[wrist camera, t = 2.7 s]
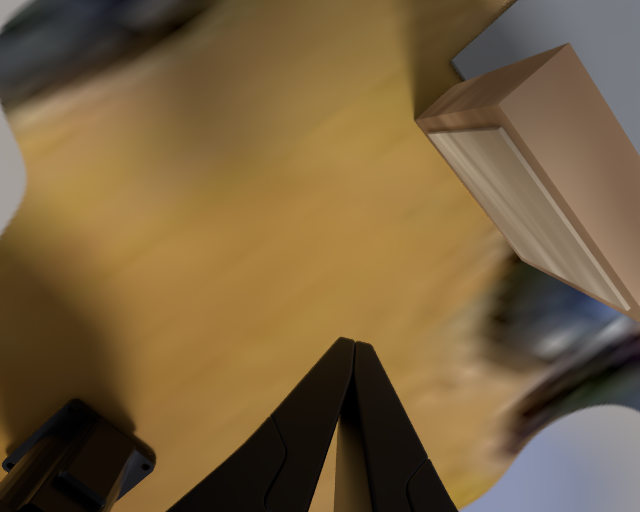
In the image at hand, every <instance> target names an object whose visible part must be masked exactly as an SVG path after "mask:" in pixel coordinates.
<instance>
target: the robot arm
mask: <svg viewBox="0 0 640 512" xmlns="http://www.w3.org/2000/svg"><path fill="white" fill-rule="evenodd" d="M72 407H74V408H76V409H77V410H74V409H73V408H72ZM337 422H338V432H337V453H336V474H335V496H334V512H458V510H457V508H456V507H455V505H454V503H453V502H452V500H451V498H450V497H449V495H448V493H447V491H446V489H445V487H444V485H443V483H442V482H441V480H440V478H439V476H438V474H437V472H436V470H435V468H434V466H433V464H432V462H431V460H430V459H428V455H427V453H426V451H425V449H424V447H423V445H422V443H421V441H420V439H419V437H418V435H417V433H416V432H415V430H414V428H413V426H412V424H411V422H410V420H409V418H408V416H407V414H406V412H405V410H404V408H403V406H402V404H401V402H400V400H399V398H398V396H397V394H396V392H395V390H394V388H393V386H392V384H391V382H390V380H389V378H388V376H387V374H386V372H385V370H384V368H383V366H382V364H381V362H380V360H379V358H378V356H377V354H376V352H375V350H374V348H373V346H372V345H371V344H369V343H365V342H361V341H356V342H355V341H354V340H353V339H349V338H345V337H339V338H338V339H337V340H336V341H335V342H334V344H333V345H332V346H331V347H330V348H329V349H328V350H327V352H326V353H325V354H324V355H323V356H322V357H321V358H320V359H319V361H318V362H317V363H316V364H315V365H314V366H313V367H312V368H311V370H310V371H309V372H308V373H307V374H306V375H305V376H304V378H303V379H302V380H301V381H300V382H299V383H298V384H297V385H296V387H295V388H294V389H293V390H292V391H291V392H290V393H289V395H288V396H287V397H286V398H285V399H284V400H283V401H282V402H281V404H280V405H279V406H278V407H277V408H276V409H275V410H274V411H273V413H272V414H271V415H270V417H268V418H267V419H266V420H265V421H264V422H263V423H262V424H261V426H260V427H259V428H258V429H257V430H256V431H255V432H254V433H253V434H252V435H251V436H250V437H249V438H248V439H247V440H246V441H245V443H244V444H242V445H241V446H240V447H239V448H238V449H237V450H236V451H235V452H234V453H233V454H232V455H230V456H229V457H228V458H227V459H226V460H225V461H224V462H223V463H222V464H220V465H219V466H218V467H217V468H216V469H215V470H213V471H212V472H211V473H210V474H209V475H208V476H206V477H205V478H204V479H203V480H202V481H201V482H199V483H198V484H197V485H196V486H195V487H194V488H192V489H191V490H190V491H189V492H188V493H187V494H185V495H184V496H183V497H182V498H181V499H180V500H179V501H177V502H176V503H175V504H174V505H173V506H172V507H170V508H169V509H168V510H167V511H166V512H308V511H309V507H310V504H311V501H312V498H313V495H314V492H315V489H316V486H317V483H318V480H319V477H320V474H321V471H322V468H323V465H324V461H325V458H326V455H327V452H328V449H329V446H330V443H331V440H332V437H333V434H334V431H335V428H336V425H337ZM13 463H14V464H13ZM145 464H148V465H145ZM155 465H156V460H155V458H154V457H152V456H151V455H150V454H149V453H147V452H146V451H145V450H143V449H142V448H141V447H140V446H138V445H137V444H136V443H135V442H133V441H132V440H131V439H129V438H128V437H127V436H126V435H124V434H123V433H122V432H120V431H119V430H118V429H117V428H115V427H114V426H113V425H112V424H110V423H109V422H108V421H106V420H105V419H104V418H103V417H101V416H100V415H99V414H98V413H96V412H95V411H94V410H92V409H91V408H90V407H89V406H87V405H86V404H85V403H83V402H82V401H81V400H79V399H71V400H69V401H68V402H67V403H66V404H65V405H64V406H63V407H62V408H60V409H59V410H58V411H57V412H56V413H55V414H54V415H53V416H52V417H51V418H49V419H48V420H47V421H46V422H45V423H44V424H43V425H42V426H41V427H40V428H38V429H37V430H36V431H35V432H34V433H33V434H32V435H31V436H30V437H29V438H27V439H26V440H25V441H24V442H23V443H22V444H21V445H20V446H19V447H18V448H16V449H15V450H14V451H13V452H12V453H11V454H10V455H9V456H8V457H7V458H6V459H5V460H4V461H3V463H2V467H3V469H4V470H5V471H7V472H8V474H7V475H6V476H5V478H4V479H3V480H2V481H1V482H0V512H110V511H111V509H112V507H113V505H114V503H115V502H116V501H118V500H119V499H120V498H121V497H122V496H124V495H125V494H126V493H127V492H128V491H130V490H131V489H132V488H133V487H134V486H136V485H137V484H138V483H139V482H140V481H142V480H143V479H144V478H145V477H146V476H148V475H149V474H150V473H151V472H152V471H153V470H154V468H155Z"/></svg>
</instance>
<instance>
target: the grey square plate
mask: <svg viewBox="0 0 640 512" xmlns="http://www.w3.org/2000/svg"><path fill="white" fill-rule="evenodd" d="M567 43H570V45H571V46H572V48H573V49H574V51H575V53H576V54H577V56H578V57H579V59H580V61H581V62H582V64H583V65H584V67H585V69H586V70H587V72H588V74H589V75H590V77H591V78H592V80H593V82H594V83H595V85H596V86H597V88H598V90H599V91H600V93H601V94H602V96H603V98H604V99H605V101H606V103H607V104H608V106H609V107H610V109H611V111H612V112H613V114H614V115H615V117H616V119H617V120H618V122H619V123H620V125H621V127H622V128H623V130H624V132H625V133H626V135H627V136H628V138H629V140H630V141H631V143H632V144H633V146H634V148H635V149H636V151H637V152H638V154H639V156H640V0H517V1H516V2H515V3H514V4H513V5H511V6H510V7H509V8H508V9H507V10H506V11H505V12H504V13H503V14H502V15H500V16H499V17H498V18H497V19H496V20H495V21H494V22H493V23H492V24H490V25H489V26H488V27H487V28H486V29H485V30H484V31H483V32H482V33H481V34H479V35H478V36H477V37H476V38H475V39H474V40H473V41H472V42H471V43H470V44H468V45H467V46H466V47H465V48H464V49H463V50H462V51H461V52H460V53H458V54H457V55H456V56H455V57H454V58H453V59H452V60H451V61H450V62H451V64H452V65H453V67H454V68H455V69H456V71H457V72H458V74H459V75H460V76H461V78H462V79H463V81H466V80H469V79H472V78H475V77H477V76H480V75H483V74H485V73H488V72H491V71H493V70H496V69H499V68H502V67H504V66H507V65H510V64H512V63H515V62H518V61H521V60H523V59H526V58H529V57H531V56H534V55H537V54H539V53H542V52H545V51H548V50H550V49H553V48H556V47H558V46H561V45H564V44H567Z"/></svg>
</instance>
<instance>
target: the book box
mask: <svg viewBox="0 0 640 512" xmlns="http://www.w3.org/2000/svg"><path fill="white" fill-rule="evenodd" d="M414 121H415V122H416V124H417V125H418V126H419V128H420V129H421V130H422V131H423V133H424V134H425V135H426V137H427V138H428V139H429V141H430V142H431V143H432V144H433V146H434V147H435V148H436V150H437V151H438V152H439V153H440V155H441V156H442V157H443V159H444V160H445V161H446V163H447V164H448V165H449V166H450V168H451V169H452V170H453V172H454V173H455V174H456V176H457V177H458V178H459V179H460V181H461V182H462V183H463V185H464V186H465V187H466V189H467V190H468V191H469V192H470V194H471V195H472V196H473V198H474V199H475V200H476V202H477V203H478V204H479V205H480V207H481V208H482V209H483V211H484V212H485V213H486V215H487V216H488V217H489V218H490V220H491V221H492V222H493V224H494V225H495V226H496V227H497V229H498V230H499V231H500V233H501V234H502V235H503V237H504V238H505V239H506V240H507V242H508V243H509V244H510V246H511V247H512V248H513V250H514V251H515V252H516V253H517V255H518V256H519V257H520V259H521V260H522V261H524V262H526V263H528V264H530V265H532V266H533V267H535V268H537V269H539V270H541V271H543V272H545V273H547V274H549V275H550V276H552V277H554V278H556V279H558V280H560V281H562V282H564V283H566V284H568V285H569V286H571V287H573V288H575V289H577V290H579V291H581V292H583V293H585V294H587V295H588V296H590V297H592V298H594V299H596V300H598V301H600V302H602V303H604V304H605V305H607V306H609V307H611V308H613V309H615V310H617V311H619V312H621V313H623V314H624V315H626V316H628V317H630V318H632V319H634V320H636V321H638V322H640V156H639V154H638V152H637V151H636V149H635V148H634V146H633V144H632V143H631V141H630V140H629V138H628V136H627V135H626V133H625V132H624V130H623V128H622V127H621V125H620V123H619V122H618V120H617V119H616V117H615V115H614V114H613V112H612V111H611V109H610V107H609V106H608V104H607V103H606V101H605V99H604V98H603V96H602V94H601V93H600V91H599V90H598V88H597V86H596V85H595V83H594V82H593V80H592V78H591V77H590V75H589V74H588V72H587V70H586V69H585V67H584V65H583V64H582V62H581V61H580V59H579V57H578V56H577V54H576V53H575V51H574V49H573V48H572V46H571V45H570V43H567V44H564V45H561V46H558V47H556V48H553V49H550V50H548V51H545V52H542V53H539V54H537V55H534V56H531V57H529V58H526V59H523V60H521V61H518V62H515V63H512V64H510V65H507V66H504V67H502V68H499V69H496V70H493V71H491V72H488V73H485V74H483V75H480V76H477V77H475V78H472V79H469V80H466V81H464V82H461V83H458V84H456V85H453V86H452V87H451V88H450V89H449V90H447V91H446V92H445V93H444V94H443V95H442V96H441V97H440V98H439V99H437V100H436V101H435V102H434V103H433V104H432V105H431V106H430V107H428V108H427V109H426V110H425V111H424V112H423V113H422V114H421V115H420V116H418V117H417V118H416V119H415V120H414Z"/></svg>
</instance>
